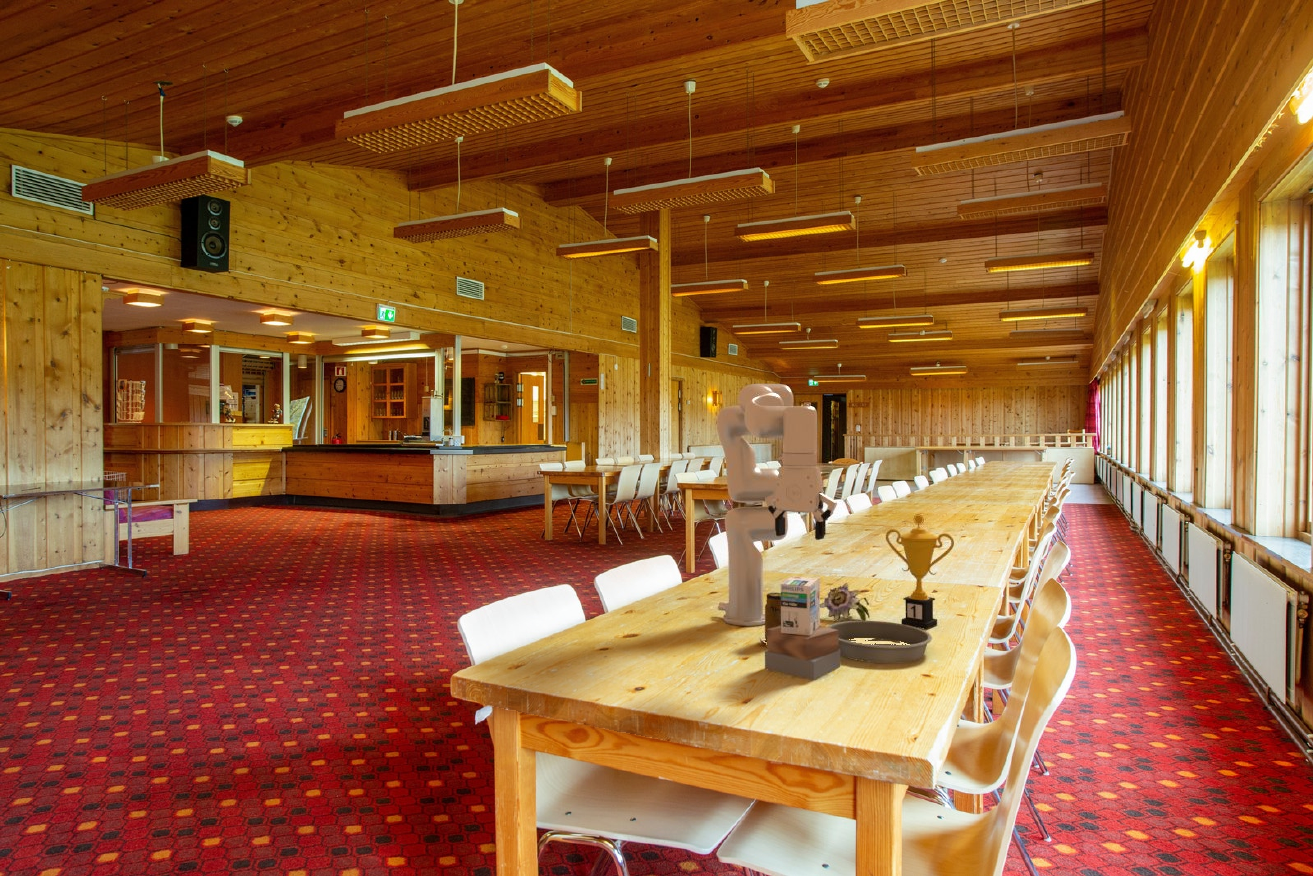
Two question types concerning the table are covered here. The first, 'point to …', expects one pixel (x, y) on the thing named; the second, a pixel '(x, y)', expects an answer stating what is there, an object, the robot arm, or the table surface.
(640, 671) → the table surface
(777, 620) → the condiment
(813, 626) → the light bulb box
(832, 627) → the cake pan
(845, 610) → the passion flower
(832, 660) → the grey block
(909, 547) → the trophy
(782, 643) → the walnut block
